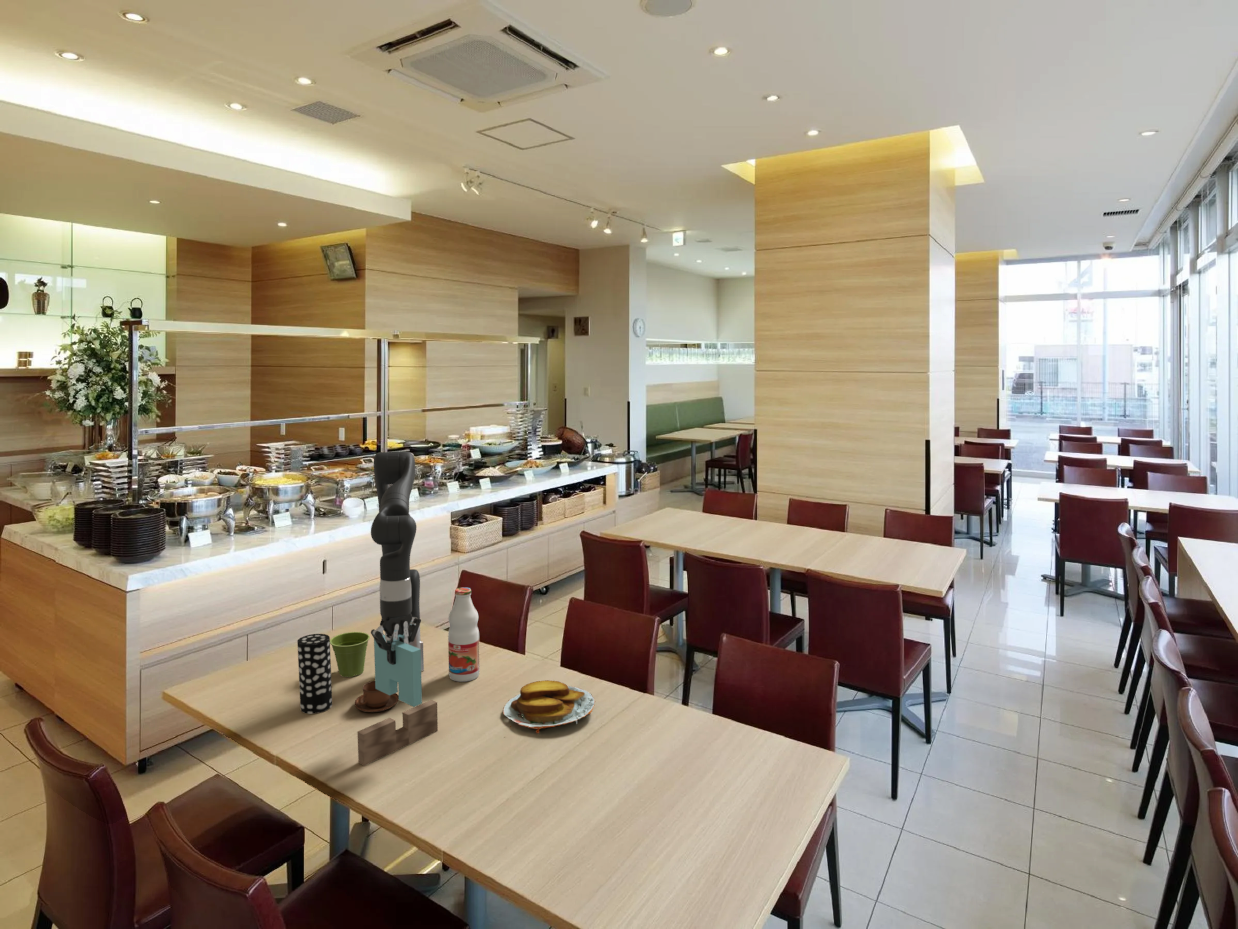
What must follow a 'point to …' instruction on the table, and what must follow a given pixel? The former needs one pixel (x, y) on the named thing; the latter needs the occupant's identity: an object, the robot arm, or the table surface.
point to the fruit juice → (463, 638)
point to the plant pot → (350, 652)
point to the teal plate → (399, 673)
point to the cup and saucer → (375, 699)
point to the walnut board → (396, 732)
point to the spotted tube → (314, 673)
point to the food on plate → (548, 704)
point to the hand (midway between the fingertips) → (397, 661)
